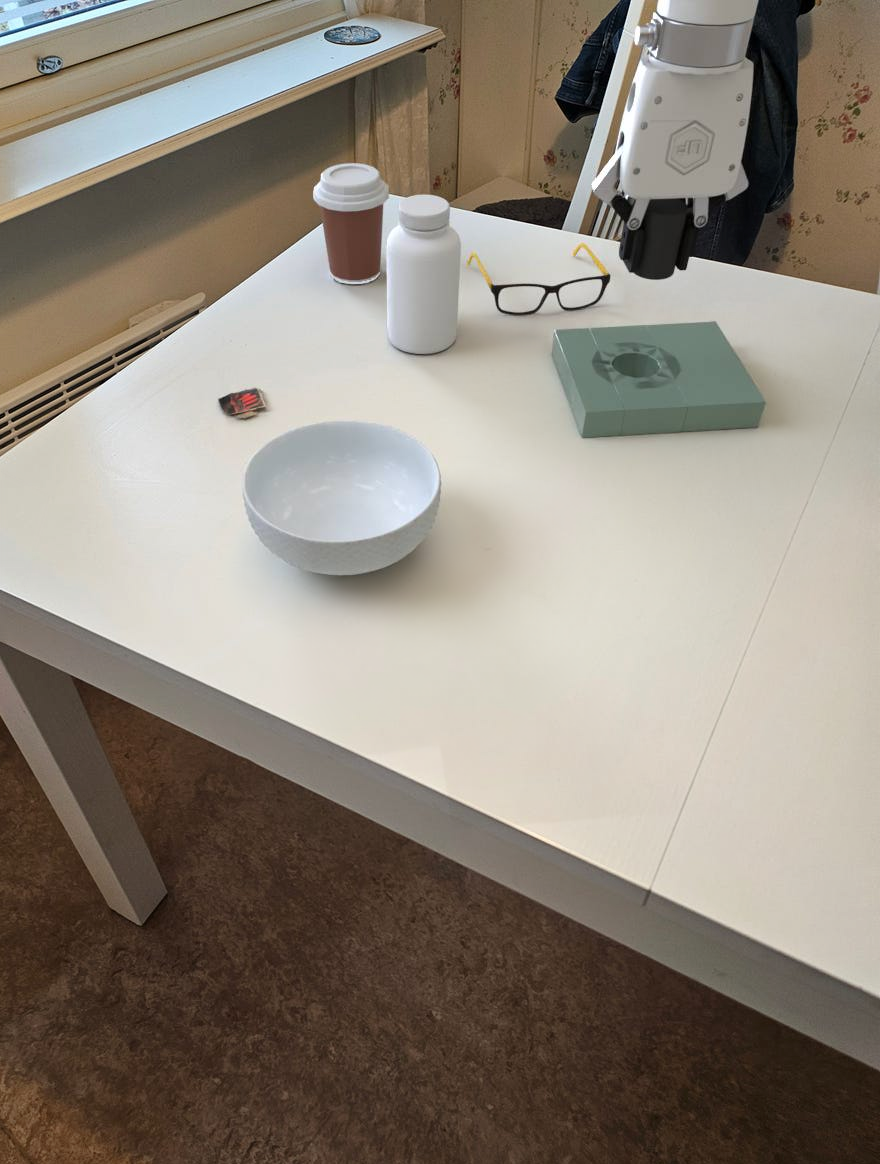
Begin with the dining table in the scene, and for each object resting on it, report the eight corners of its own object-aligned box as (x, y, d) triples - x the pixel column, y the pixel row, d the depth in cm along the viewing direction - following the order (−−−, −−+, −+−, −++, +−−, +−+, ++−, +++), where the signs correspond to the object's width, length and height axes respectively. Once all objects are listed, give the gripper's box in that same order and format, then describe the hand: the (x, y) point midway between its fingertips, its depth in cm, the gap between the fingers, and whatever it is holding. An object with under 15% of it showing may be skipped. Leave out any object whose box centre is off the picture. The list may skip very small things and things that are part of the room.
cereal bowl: (457, 592, 75) (460, 527, 70) (258, 618, 73) (246, 553, 68) (421, 470, 86) (421, 407, 81) (247, 490, 85) (236, 426, 80)
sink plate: (709, 345, 101) (715, 321, 99) (758, 427, 90) (766, 401, 88) (551, 354, 100) (554, 329, 98) (581, 437, 90) (585, 412, 87)
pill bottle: (446, 361, 100) (449, 224, 89) (378, 350, 102) (373, 214, 91) (465, 327, 105) (471, 193, 94) (400, 316, 107) (398, 184, 96)
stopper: (667, 260, 87) (681, 195, 83) (679, 279, 85) (693, 213, 80) (626, 261, 87) (638, 197, 83) (637, 280, 84) (649, 215, 80)
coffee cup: (364, 297, 110) (359, 195, 101) (305, 279, 114) (295, 179, 105) (404, 267, 115) (403, 168, 106) (347, 251, 119) (341, 154, 110)
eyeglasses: (491, 320, 106) (493, 288, 103) (466, 265, 115) (467, 234, 112) (608, 309, 107) (614, 277, 104) (573, 256, 117) (578, 224, 114)
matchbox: (213, 402, 95) (212, 398, 94) (256, 386, 97) (256, 382, 96) (233, 423, 92) (233, 419, 92) (277, 407, 94) (277, 403, 94)
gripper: (607, 58, 69) (574, 287, 83) (819, 51, 70) (753, 279, 83) (586, 30, 74) (558, 251, 88) (784, 24, 75) (727, 244, 88)
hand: (654, 263), depth 85 cm, fingers closed on stopper, 4 cm apart
